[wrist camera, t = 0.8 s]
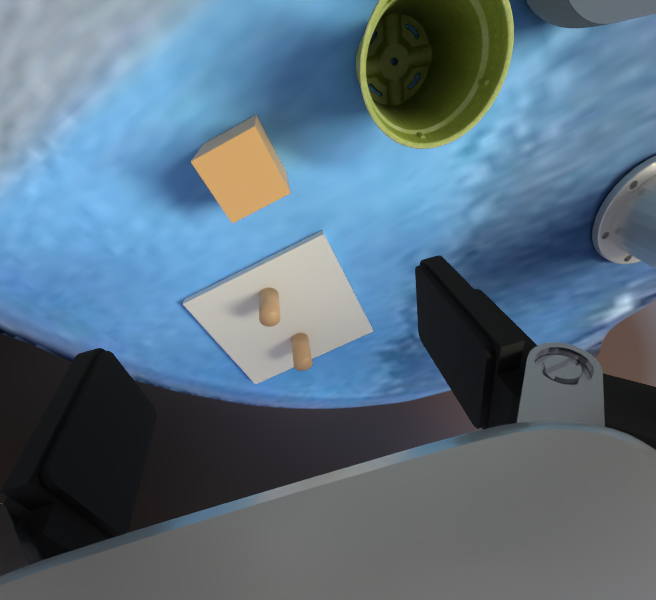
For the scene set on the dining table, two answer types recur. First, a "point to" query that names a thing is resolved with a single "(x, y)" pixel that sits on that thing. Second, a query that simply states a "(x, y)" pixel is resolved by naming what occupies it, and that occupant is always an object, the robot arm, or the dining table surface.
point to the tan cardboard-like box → (242, 169)
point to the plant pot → (434, 66)
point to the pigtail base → (282, 310)
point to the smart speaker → (590, 11)
